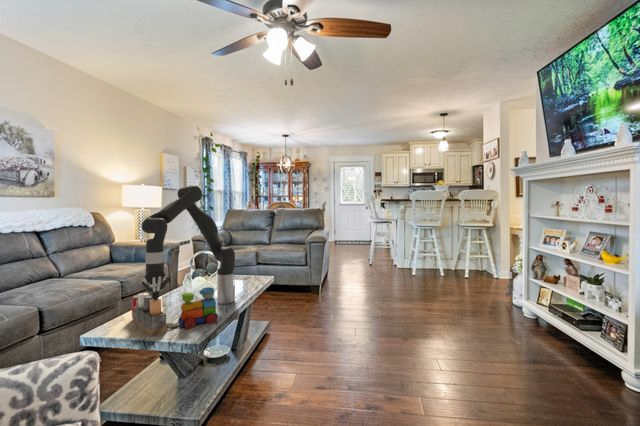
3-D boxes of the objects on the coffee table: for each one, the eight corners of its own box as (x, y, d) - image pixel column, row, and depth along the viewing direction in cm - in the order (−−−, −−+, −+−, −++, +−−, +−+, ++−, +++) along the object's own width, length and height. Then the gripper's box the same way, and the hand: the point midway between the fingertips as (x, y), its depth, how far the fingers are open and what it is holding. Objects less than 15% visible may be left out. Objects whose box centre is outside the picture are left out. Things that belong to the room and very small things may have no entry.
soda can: (150, 317, 164) (150, 294, 164) (139, 322, 158) (138, 298, 157) (140, 316, 167) (140, 293, 166) (128, 320, 160) (128, 297, 160)
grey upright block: (152, 308, 153) (152, 294, 153) (156, 310, 150) (156, 296, 150) (142, 311, 150) (142, 296, 150) (145, 313, 147) (145, 298, 147)
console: (148, 320, 160) (148, 303, 160) (166, 332, 145) (166, 313, 145) (133, 324, 155) (133, 307, 155) (150, 336, 140) (150, 317, 140)
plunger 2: (158, 312, 148) (158, 297, 148) (162, 314, 145) (162, 299, 145) (148, 314, 145) (148, 299, 145) (152, 316, 142) (152, 301, 142)
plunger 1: (146, 305, 158) (146, 291, 158) (150, 307, 155) (150, 293, 155) (136, 307, 155) (136, 293, 155) (140, 309, 152) (139, 295, 152)
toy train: (151, 328, 150) (150, 293, 150) (212, 316, 167) (211, 284, 167) (155, 337, 140) (155, 300, 140) (219, 323, 158) (219, 289, 157)
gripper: (166, 259, 152) (166, 295, 152) (136, 262, 142) (136, 301, 142) (173, 260, 147) (173, 298, 147) (142, 264, 137) (142, 304, 137)
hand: (155, 299), depth 145 cm, fingers closed
